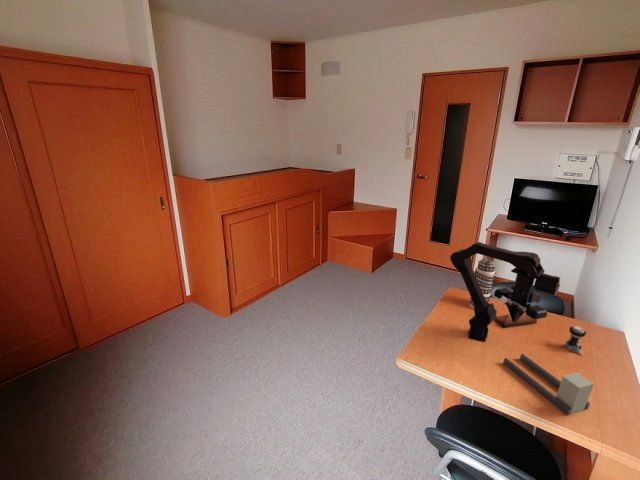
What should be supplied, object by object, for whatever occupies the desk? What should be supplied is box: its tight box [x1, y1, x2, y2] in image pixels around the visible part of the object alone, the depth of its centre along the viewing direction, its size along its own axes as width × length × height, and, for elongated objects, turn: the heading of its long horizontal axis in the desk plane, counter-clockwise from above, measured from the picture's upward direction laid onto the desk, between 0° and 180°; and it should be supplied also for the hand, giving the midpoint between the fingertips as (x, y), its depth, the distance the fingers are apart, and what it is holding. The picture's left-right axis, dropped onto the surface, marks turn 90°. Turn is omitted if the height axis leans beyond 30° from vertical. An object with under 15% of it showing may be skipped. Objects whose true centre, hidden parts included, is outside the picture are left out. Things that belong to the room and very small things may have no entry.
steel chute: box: [502, 353, 591, 417], centre depth 110 cm, size 24×10×4 cm, turn 18°
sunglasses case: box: [493, 313, 538, 329], centre depth 148 cm, size 18×7×7 cm
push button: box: [564, 325, 587, 355], centre depth 128 cm, size 7×5×10 cm
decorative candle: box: [468, 258, 498, 309], centre depth 157 cm, size 9×9×25 cm
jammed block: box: [555, 372, 594, 415], centre depth 100 cm, size 5×6×10 cm
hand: (514, 321), depth 125 cm, fingers closed
